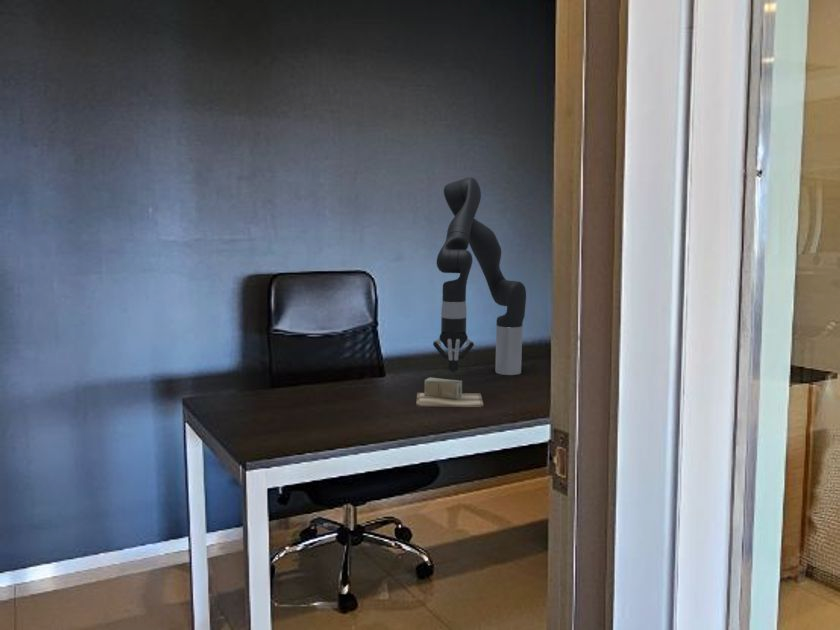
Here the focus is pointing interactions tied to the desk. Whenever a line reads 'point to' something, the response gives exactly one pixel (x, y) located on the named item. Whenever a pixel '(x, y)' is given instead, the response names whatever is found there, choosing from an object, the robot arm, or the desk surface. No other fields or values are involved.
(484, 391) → the desk surface
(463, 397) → the mat
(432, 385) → the box
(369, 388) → the desk surface
